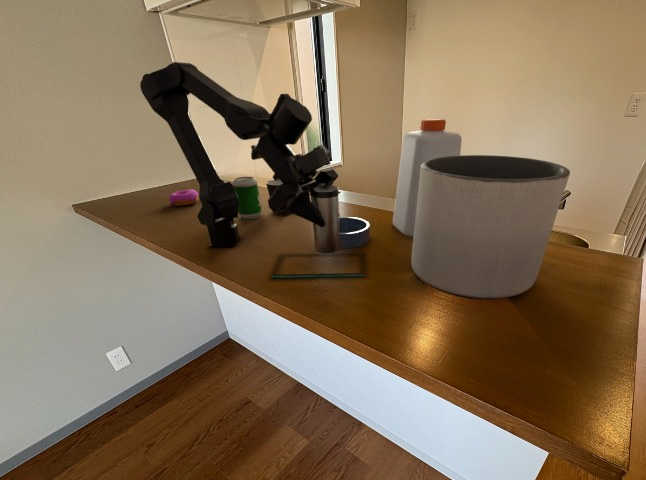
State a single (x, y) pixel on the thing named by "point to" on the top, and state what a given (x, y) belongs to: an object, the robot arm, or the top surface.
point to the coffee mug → (271, 188)
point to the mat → (318, 276)
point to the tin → (326, 218)
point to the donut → (184, 197)
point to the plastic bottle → (419, 167)
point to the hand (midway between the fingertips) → (331, 221)
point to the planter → (484, 223)
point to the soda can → (248, 197)
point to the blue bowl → (353, 232)
